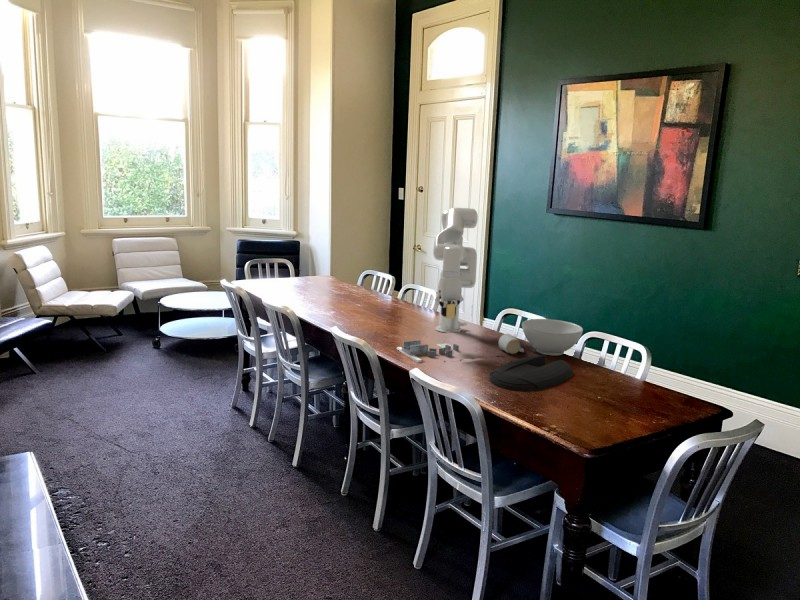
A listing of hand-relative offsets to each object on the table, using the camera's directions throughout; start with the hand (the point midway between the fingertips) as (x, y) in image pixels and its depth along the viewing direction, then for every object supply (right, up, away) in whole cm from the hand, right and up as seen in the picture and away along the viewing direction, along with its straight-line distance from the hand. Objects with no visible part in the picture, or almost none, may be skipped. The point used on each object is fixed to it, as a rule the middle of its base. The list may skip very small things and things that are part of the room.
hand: (448, 315), depth 271 cm
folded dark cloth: (+30, -24, -29) cm, 48 cm away
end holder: (-15, -16, -7) cm, 23 cm away
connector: (0, -1, 0) cm, 1 cm away
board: (-7, -16, -4) cm, 18 cm away
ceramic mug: (+29, -17, +4) cm, 33 cm away
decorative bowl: (+47, -17, +7) cm, 50 cm away
